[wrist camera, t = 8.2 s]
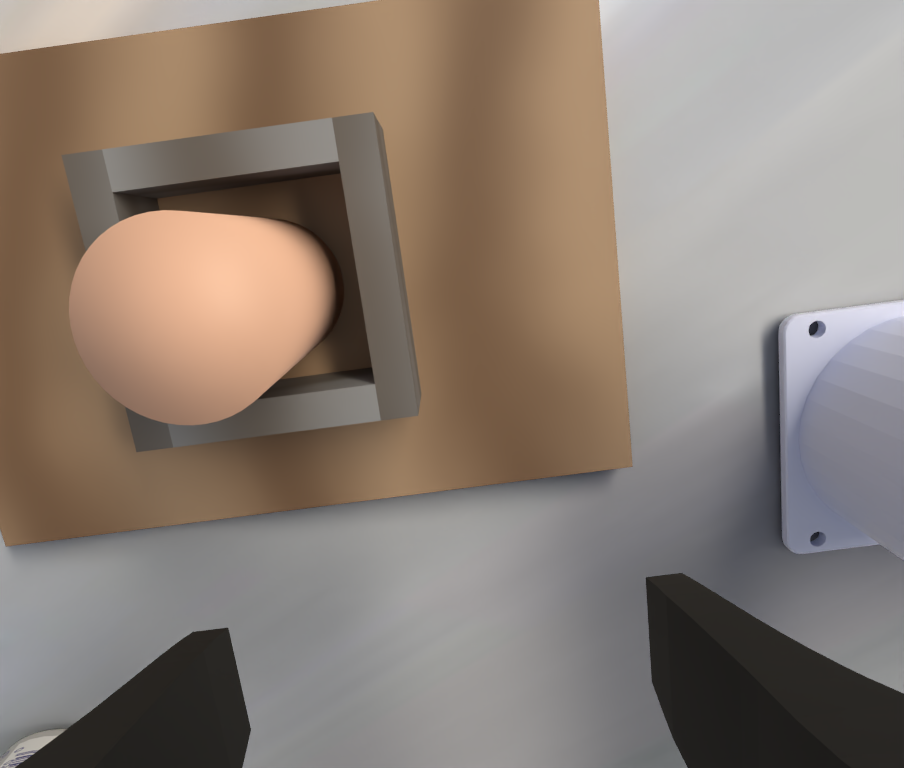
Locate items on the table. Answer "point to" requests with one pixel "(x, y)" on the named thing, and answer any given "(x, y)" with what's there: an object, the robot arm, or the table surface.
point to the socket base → (348, 237)
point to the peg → (200, 310)
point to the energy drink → (27, 747)
